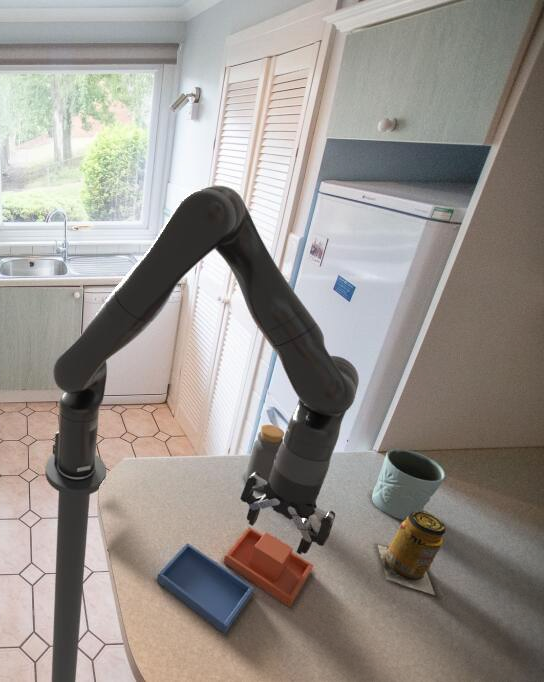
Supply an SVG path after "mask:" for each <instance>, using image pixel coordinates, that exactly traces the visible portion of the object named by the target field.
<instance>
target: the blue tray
mask: <svg viewBox="0 0 544 682" xmlns="http://www.w3.org/2000/svg"><path fill="white" fill-rule="evenodd" d="M156 582H157V583H159V584H160V585H161V586H162V587H164V588H165V589H166V590H168V591H169V592H170V593H171V594H173V595H174V596H175V597H176V598H177V599H179V600H180V601H181V602H182V603H184V604H185V605H187V606H188V607H189V608H191V610H193V611H194V612H196V613H197V614H198V615H199V616H201V617H202V618H203V619H205V620H206V622H208V623H210V624H211V625H212V626H214V627H215V628H216V629H217V630H219V631H220V632H221V633H222V634H224V635H226V633H227V632H228V630H229V629H230V628H231V626H232V625H233V623H234V622H235V620H236V619H237V617H238V616H239V615H240V613H241V612H242V611H243V609H244V607H245V606H246V604H247V603H248V602H249V600H250V599H251V597H252V595H253V592H254V590H255V588H254V587H253V586H251V585H250V584H248V583H247V582H245V581H244V580H242V579H241V578H239V577H238V576H236V575H235V574H234V573H232V572H231V571H229V570H228V569H227V568H225V567H223V566H222V565H220V564H219V563H218V562H216V561H215V560H213V559H212V558H210V557H209V556H207V555H206V554H205V553H203V552H201V551H200V550H199V549H197V548H195V547H194V546H193V545H191V544H190V543H188V542H187V543H186V544H184V545H183V547H182V548H181V549H180V550H179V551H178V552H177V553H176V554H175V555H174V556H173V557H172V558H171V559H170V561H168V563H167V564H166V565H165V566H164V567H163V568H162V569H161V570H160V571H159V572H158V574H157V578H156Z"/></svg>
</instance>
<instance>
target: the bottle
mask: <svg viewBox="0 0 544 682" xmlns="http://www.w3.org/2000/svg"><path fill="white" fill-rule="evenodd" d="M284 436H285V432H284V430H283V429H282V428H280V427H279V426H277V425H273V424H264V425H262V426H261V427H260V431H259V432H258V434H257V439H256V440H255V441H254V443H253V446H252V449H251V454H250V457H249V461H248V463H247V468H246V472H245V476H244V481H245V483H246V482H247V480H248V478H249V477H250V476H251V475H252V474H253V473H254V472H258V473H259V474H260V478H262V479H264V480H266V481H268V480H269V477H270V474H271V471H272V468H273V465H274V461H275V456H276V454H277V452H278V449H279V447H280V445H281V443H282V441H283V439H284ZM255 490H256V491H263V492H264V490H263V487H262V486H260V487H259V488H255Z"/></svg>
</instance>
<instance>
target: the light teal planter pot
mask: <svg viewBox="0 0 544 682" xmlns="http://www.w3.org/2000/svg"><path fill="white" fill-rule="evenodd" d="M377 478H378V479H377V481H376V484H375V487H374V489H373V491H372V494H371V500H372V502H373V504H374V505H375V506H376V508H378V509H379V510H380V511H382V512H383V513H384V514H387V515H388V516H390V517H393V518H396V519H398V520H402V521H405V520H406V519H407V517H408V516H409V514H410V513H411V512H413V511H423V512H424V509H425V506H426V505H427V504H428V503H429V502H430V500H431V497H433V496H434V494H435V493H437V490H438V489H439V488H440V486H441V485H442V484H443V482H444V480H445V479H446V472H445V470H444V469H443V468H442V466H441V465H440V464H439V463H437V462H436V461H435V460H433V459H432V458H429V457H428V456H426V455H424V454H421V453H419V452H416V451H413V450H409V449H402V448H394V449H390V450H388V451H387V452H386V454H385V457H384V460H383V463H382V467H381V470H380V472H379V476H378V477H377Z"/></svg>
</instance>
